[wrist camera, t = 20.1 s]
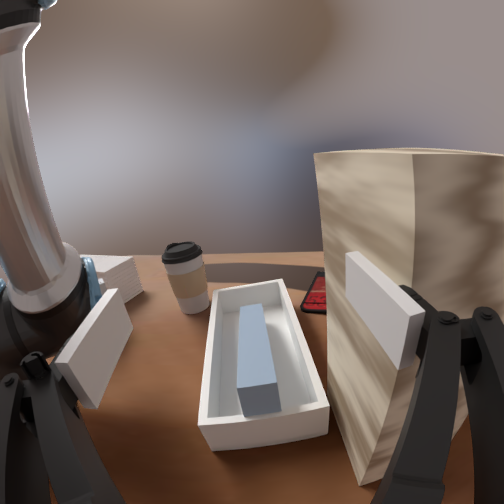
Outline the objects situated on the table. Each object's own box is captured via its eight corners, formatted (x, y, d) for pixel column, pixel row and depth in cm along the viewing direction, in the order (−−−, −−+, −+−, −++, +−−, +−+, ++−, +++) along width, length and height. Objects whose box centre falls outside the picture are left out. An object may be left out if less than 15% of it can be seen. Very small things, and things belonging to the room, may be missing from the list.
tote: (212, 451, 27) (197, 425, 25) (219, 314, 58) (213, 290, 56) (327, 433, 27) (329, 405, 25) (285, 304, 58) (282, 278, 56)
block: (243, 416, 26) (236, 388, 25) (243, 326, 51) (240, 306, 51) (281, 411, 26) (277, 382, 25) (265, 323, 51) (261, 303, 51)
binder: (317, 270, 67) (402, 273, 57) (317, 278, 68) (402, 282, 58) (296, 307, 54) (403, 314, 44) (297, 317, 55) (402, 325, 45)
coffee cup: (222, 301, 64) (208, 239, 59) (193, 320, 57) (175, 254, 52) (196, 293, 69) (182, 237, 65) (169, 310, 63) (151, 250, 58)
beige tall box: (359, 486, 19) (412, 154, 9) (326, 394, 33) (313, 153, 23) (445, 449, 19) (531, 159, 9) (398, 373, 33) (412, 147, 24)
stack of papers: (68, 294, 82) (58, 266, 78) (90, 281, 91) (81, 254, 87) (117, 309, 67) (104, 272, 64) (143, 291, 76) (133, 256, 73)
